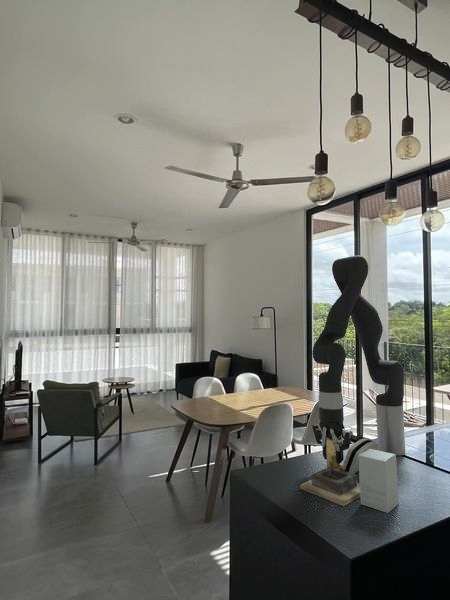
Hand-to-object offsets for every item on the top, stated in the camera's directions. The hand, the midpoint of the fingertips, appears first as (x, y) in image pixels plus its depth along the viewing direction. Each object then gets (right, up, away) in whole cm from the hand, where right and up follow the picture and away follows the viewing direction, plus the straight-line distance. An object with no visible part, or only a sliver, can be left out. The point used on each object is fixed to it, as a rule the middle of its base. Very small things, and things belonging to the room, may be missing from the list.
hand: (333, 460), depth 117 cm
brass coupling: (0, -3, 0) cm, 3 cm away
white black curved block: (+10, -5, +5) cm, 12 cm away
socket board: (-3, -3, -12) cm, 13 cm away
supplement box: (+6, -3, -21) cm, 22 cm away
